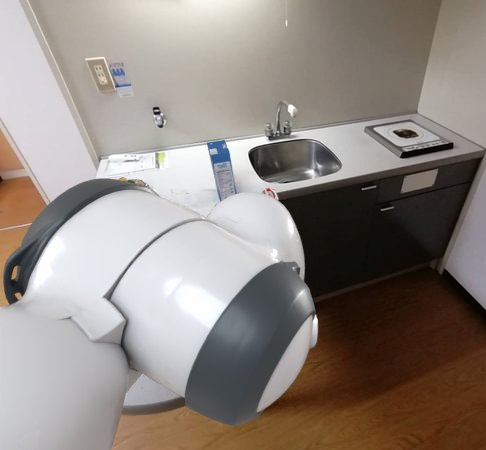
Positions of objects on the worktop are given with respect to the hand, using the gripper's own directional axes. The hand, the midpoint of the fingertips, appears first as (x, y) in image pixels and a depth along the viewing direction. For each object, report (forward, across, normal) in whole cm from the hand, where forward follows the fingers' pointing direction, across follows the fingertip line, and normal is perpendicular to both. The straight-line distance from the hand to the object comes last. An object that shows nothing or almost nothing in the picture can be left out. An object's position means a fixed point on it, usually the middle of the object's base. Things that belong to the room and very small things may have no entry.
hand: (180, 330), depth 67 cm
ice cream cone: (-17, -42, +6) cm, 45 cm away
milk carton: (+2, -59, +6) cm, 60 cm away
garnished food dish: (+40, -64, +6) cm, 75 cm away
